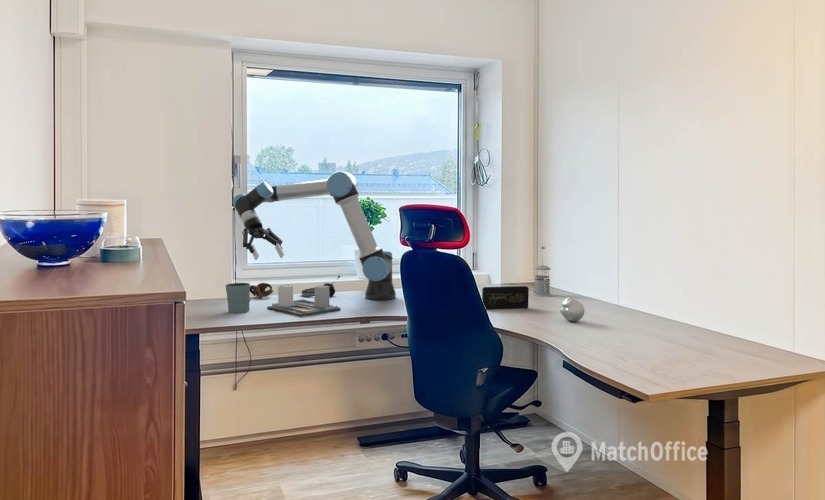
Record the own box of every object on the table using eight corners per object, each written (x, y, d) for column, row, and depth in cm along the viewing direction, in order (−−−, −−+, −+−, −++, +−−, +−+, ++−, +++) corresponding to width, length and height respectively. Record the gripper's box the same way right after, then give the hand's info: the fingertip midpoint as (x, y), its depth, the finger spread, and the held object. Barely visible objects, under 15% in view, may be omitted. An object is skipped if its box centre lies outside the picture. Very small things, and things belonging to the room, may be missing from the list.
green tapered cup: (249, 313, 254) (248, 285, 253) (224, 314, 252) (223, 286, 251) (251, 309, 264) (251, 282, 263) (227, 309, 262) (227, 282, 261)
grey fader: (314, 307, 261) (314, 286, 261) (323, 305, 265) (323, 285, 264) (320, 308, 259) (320, 287, 258) (329, 306, 262) (329, 285, 262)
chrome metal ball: (558, 319, 244) (558, 294, 243) (581, 319, 243) (582, 295, 242) (561, 323, 235) (562, 298, 234) (586, 324, 234) (586, 299, 233)
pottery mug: (273, 296, 301) (275, 283, 296) (268, 307, 293) (270, 294, 288) (250, 290, 300) (252, 277, 296) (244, 301, 292) (246, 288, 288)
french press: (529, 295, 304) (530, 246, 302) (538, 292, 313) (539, 245, 311) (547, 297, 298) (548, 247, 296) (556, 294, 308) (557, 246, 306)
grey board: (267, 309, 263) (267, 304, 263) (306, 303, 278) (306, 298, 278) (300, 317, 246) (300, 311, 246) (340, 310, 261) (340, 305, 261)
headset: (340, 276, 297) (300, 282, 294) (342, 295, 298) (302, 301, 295) (339, 273, 310) (300, 278, 307) (341, 291, 311) (302, 296, 308)
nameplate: (483, 310, 264) (483, 287, 263) (482, 309, 266) (482, 287, 265) (528, 308, 268) (528, 286, 267) (526, 307, 269) (527, 286, 269)
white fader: (278, 306, 263) (278, 285, 262) (288, 304, 267) (287, 284, 266) (283, 307, 260) (283, 286, 260) (293, 305, 264) (292, 285, 263)
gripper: (271, 226, 290) (289, 260, 281) (224, 228, 272) (242, 263, 263) (277, 216, 286) (296, 250, 277) (230, 216, 268) (249, 252, 259)
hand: (270, 256), depth 270 cm, fingers open, 13 cm apart
